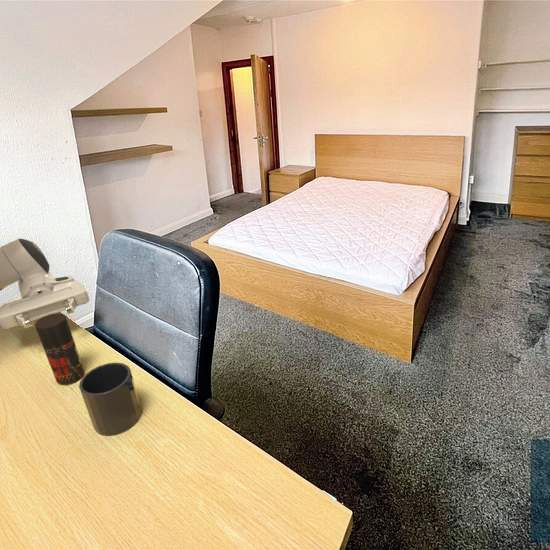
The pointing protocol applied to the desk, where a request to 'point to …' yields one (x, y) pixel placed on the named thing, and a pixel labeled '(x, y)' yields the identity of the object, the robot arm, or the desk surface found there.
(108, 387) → the pen pot
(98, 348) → the desk surface
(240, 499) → the desk surface
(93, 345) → the desk surface
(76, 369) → the deodorant
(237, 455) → the desk surface
